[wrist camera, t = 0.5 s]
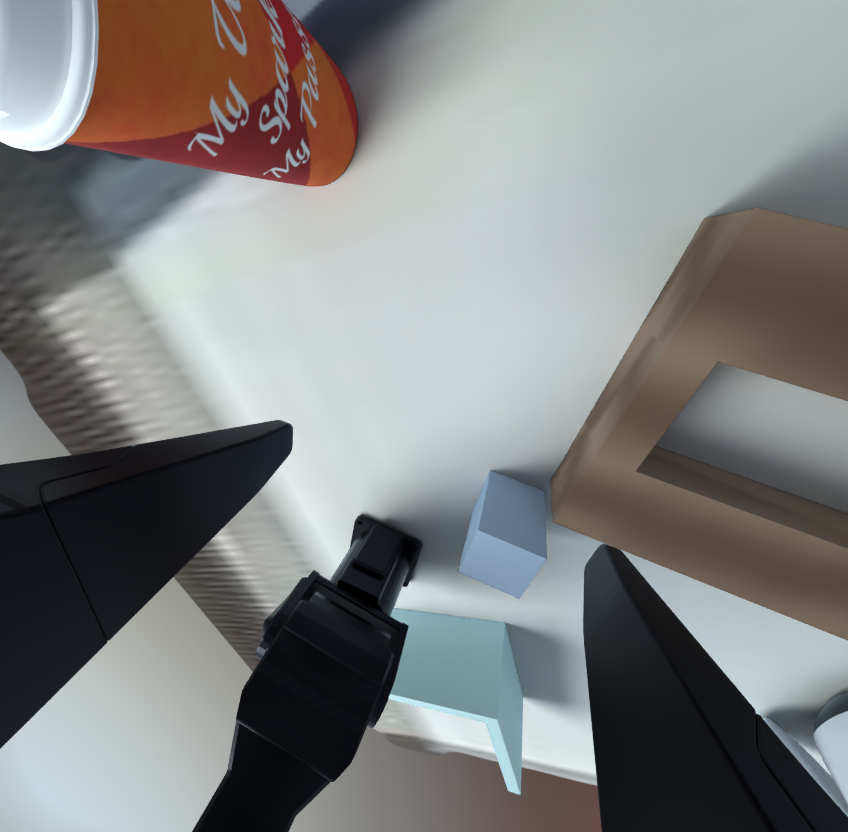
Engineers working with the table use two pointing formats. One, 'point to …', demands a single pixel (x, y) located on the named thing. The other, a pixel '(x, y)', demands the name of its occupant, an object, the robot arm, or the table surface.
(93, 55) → the paper cup
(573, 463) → the well block
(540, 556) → the solid blue gray block
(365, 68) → the table surface
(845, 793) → the spread jar
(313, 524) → the table surface
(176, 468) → the robot arm
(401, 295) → the table surface
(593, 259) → the table surface
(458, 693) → the right angle wall
